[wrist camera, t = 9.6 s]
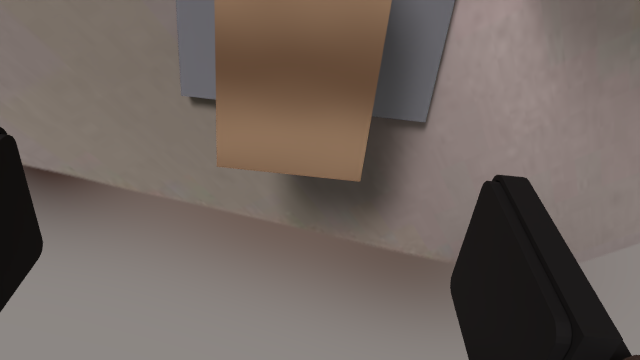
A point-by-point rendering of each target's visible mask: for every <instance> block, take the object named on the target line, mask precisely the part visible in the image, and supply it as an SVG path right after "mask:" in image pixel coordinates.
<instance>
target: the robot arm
mask: <svg viewBox="0 0 640 360" xmlns="http://www.w3.org/2000/svg"><path fill="white" fill-rule="evenodd" d="M42 247H43V241H42V236H41V233H40V229H39V225H38V221H37V218H36V214H35V211H34V207H33V203H32V199H31V196H30V192H29V188H28V185H27V181H26V178H25V173H24V170H23V166H22V162H21V159H20V155H19V151H18V148H17V144H16V141H15V139H14V138H13V137H12V136H10V135H7V133H6V131H5V130H4V129H3V128H1V127H0V312H1V310H2V309H3V308H4V306H5V305H6V303H7V302H8V301H9V299H10V298H11V296H12V295H13V294H14V292H15V291H16V289H17V288H18V287H19V285H20V284H21V282H22V281H23V280H24V278H25V277H26V275H27V274H28V273H29V271H30V270H31V268H32V267H33V266H34V264H35V263H36V261H37V260H38V258H39V257H40V255H41V252H42ZM450 286H451V287H450V288H451V295H452V299H453V302H454V306H455V310H456V313H457V317H458V321H459V325H460V328H461V332H462V336H463V339H464V343H465V347H466V351H467V354H468V358H469V360H640V355H633V356H632V355H631V353H630V352H629V350H628V349H627V347H626V345H625V343H624V342H623V339H622V337H621V335H620V333H619V332H618V330H617V328H616V327H615V325H614V323H613V322H612V320H611V318H610V317H609V315H608V313H607V312H606V310H605V308H604V307H603V305H602V303H601V302H600V300H599V298H598V297H597V295H596V293H595V291H594V290H593V288H592V287H591V285H590V283H589V281H588V280H587V278H586V276H585V275H584V273H583V271H582V269H581V268H580V266H579V264H578V263H577V261H576V259H575V258H574V256H573V254H572V253H571V251H570V249H569V248H568V246H567V244H566V243H565V241H564V239H563V237H562V236H561V234H560V232H559V231H558V229H557V227H556V226H555V224H554V222H553V221H552V219H551V217H550V216H549V214H548V212H547V211H546V209H545V207H544V205H543V204H542V202H541V200H540V199H539V197H538V195H537V194H536V192H535V190H534V189H533V187H532V185H531V184H530V182H529V180H528V179H527V178H524V177H515V176H505V175H496V176H495V177H494V178H493V180H492V181H486V182H485V183H484V184H483V186H482V188H481V191H480V194H479V197H478V200H477V203H476V206H475V209H474V212H473V215H472V218H471V221H470V224H469V227H468V229H467V232H466V235H465V238H464V241H463V244H462V247H461V250H460V253H459V256H458V259H457V262H456V265H455V268H454V271H453V273H452V277H451V285H450Z"/></svg>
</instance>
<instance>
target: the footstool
mask: <svg viewBox="0 0 640 360" xmlns="http://www.w3.org/2000/svg"><path fill="white" fill-rule="evenodd" d="M391 2H392V0H214V6H215V71H216V135H217V167H226V168H236V169H245V170H254V171H264V172H273V173H283V174H292V175H302V176H311V177H321V178H330V179H339V180H349V181H358V182H360V180H361V174H362V168H363V163H364V157H365V151H366V146H367V140H368V134H369V128H370V123H371V117H372V111H373V106H374V100H375V94H376V88H377V83H378V77H379V71H380V65H381V60H382V54H383V48H384V43H385V37H386V31H387V25H388V20H389V14H390V8H391Z"/></svg>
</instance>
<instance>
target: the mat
mask: <svg viewBox="0 0 640 360" xmlns="http://www.w3.org/2000/svg"><path fill="white" fill-rule="evenodd" d="M454 2H455V0H392V2H391V8H390V14H389V20H388V25H387V31H386V37H385V43H384V48H383V54H382V60H381V65H380V71H379V77H378V83H377V88H376V94H375V100H374V106H373V111H372V117H381V118H390V119H399V120H408V121H418V122H426V118H427V114H428V109H429V105H430V101H431V97H432V93H433V89H434V85H435V81H436V77H437V72H438V68H439V64H440V60H441V56H442V52H443V48H444V44H445V39H446V35H447V31H448V27H449V23H450V19H451V15H452V11H453V6H454ZM176 11H177V29H178V47H179V64H180V82H181V96H189V97H198V98H207V99H216V71H215V6H214V0H176Z"/></svg>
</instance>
